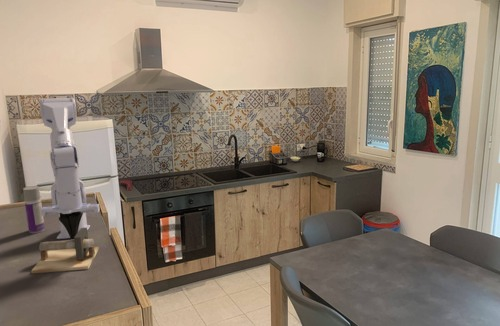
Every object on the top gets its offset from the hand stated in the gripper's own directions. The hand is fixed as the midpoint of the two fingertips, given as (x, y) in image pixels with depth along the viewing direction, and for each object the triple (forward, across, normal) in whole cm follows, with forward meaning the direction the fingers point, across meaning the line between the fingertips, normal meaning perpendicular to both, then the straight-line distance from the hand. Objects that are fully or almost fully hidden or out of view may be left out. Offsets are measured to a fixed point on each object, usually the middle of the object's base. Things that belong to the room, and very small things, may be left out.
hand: (74, 237), depth 102 cm
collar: (+5, +2, 0) cm, 6 cm away
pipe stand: (+6, -2, 0) cm, 7 cm away
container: (+7, -19, +24) cm, 31 cm away
